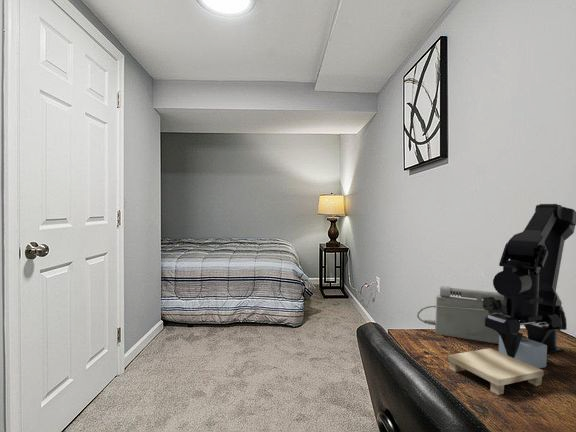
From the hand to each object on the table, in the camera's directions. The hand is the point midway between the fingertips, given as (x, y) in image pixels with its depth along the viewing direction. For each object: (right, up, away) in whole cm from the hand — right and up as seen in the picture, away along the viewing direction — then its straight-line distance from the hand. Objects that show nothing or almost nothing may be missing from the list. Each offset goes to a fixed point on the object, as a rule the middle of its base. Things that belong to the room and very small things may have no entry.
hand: (521, 356), depth 81 cm
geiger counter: (-6, -1, +15) cm, 16 cm away
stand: (-12, -1, -8) cm, 14 cm away
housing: (0, -1, 0) cm, 1 cm away
